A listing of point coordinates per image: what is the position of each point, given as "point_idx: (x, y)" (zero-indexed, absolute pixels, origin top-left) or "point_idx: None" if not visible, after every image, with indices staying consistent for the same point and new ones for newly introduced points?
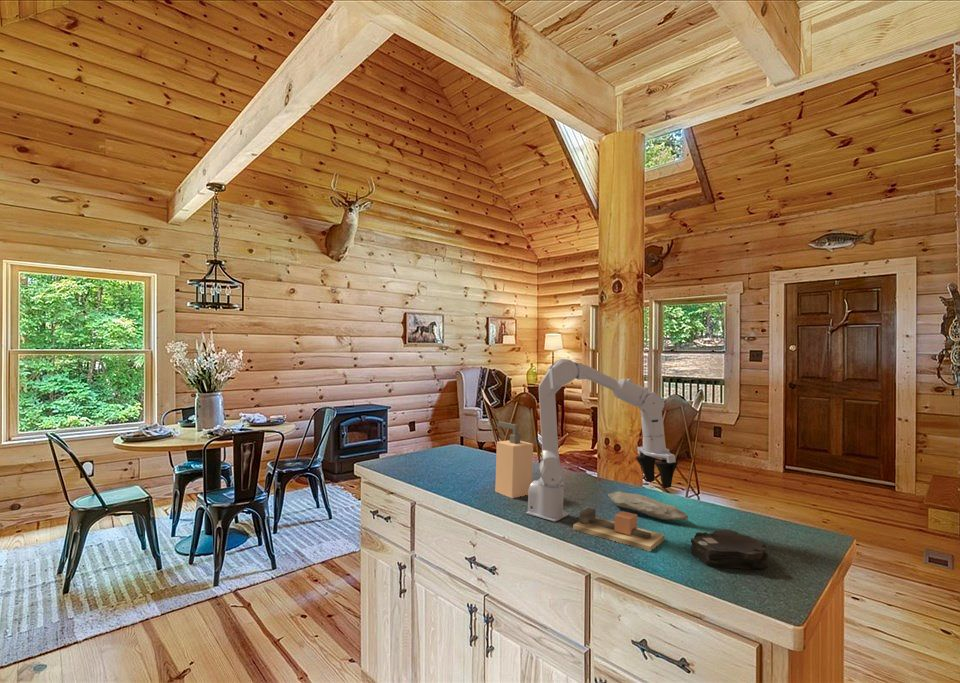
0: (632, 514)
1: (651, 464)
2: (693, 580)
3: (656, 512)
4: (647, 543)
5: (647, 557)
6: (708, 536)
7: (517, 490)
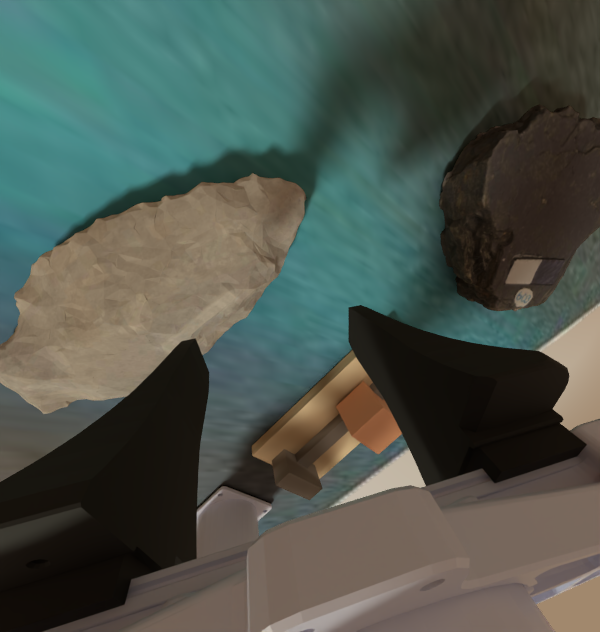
0: (380, 417)
1: (168, 436)
2: (525, 338)
3: (257, 294)
4: None
5: None
6: (503, 259)
7: None
